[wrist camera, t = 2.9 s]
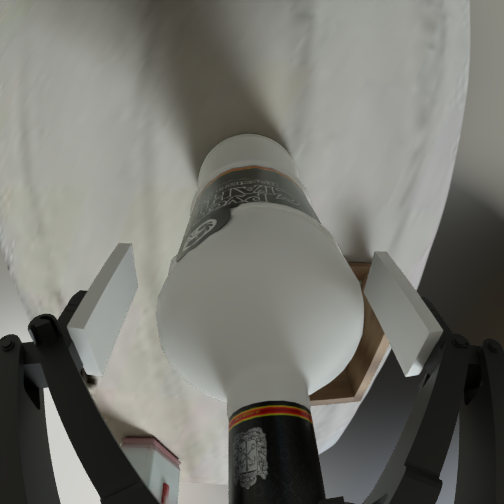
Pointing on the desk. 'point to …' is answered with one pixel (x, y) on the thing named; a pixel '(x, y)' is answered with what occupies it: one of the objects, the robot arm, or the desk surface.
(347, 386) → the wooden box
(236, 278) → the vodka
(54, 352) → the robot arm
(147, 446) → the bottle
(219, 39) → the desk surface
